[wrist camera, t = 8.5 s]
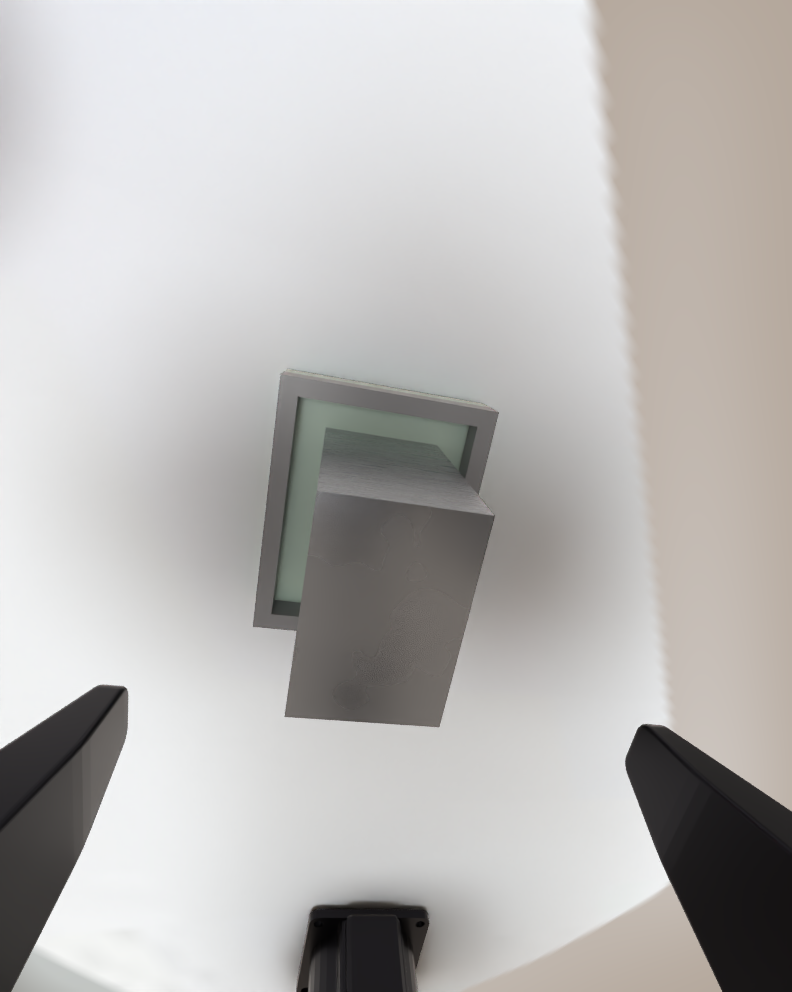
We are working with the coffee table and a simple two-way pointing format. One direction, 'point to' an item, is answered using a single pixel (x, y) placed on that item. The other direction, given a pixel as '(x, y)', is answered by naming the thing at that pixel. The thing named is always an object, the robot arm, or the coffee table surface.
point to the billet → (385, 582)
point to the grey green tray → (298, 459)
